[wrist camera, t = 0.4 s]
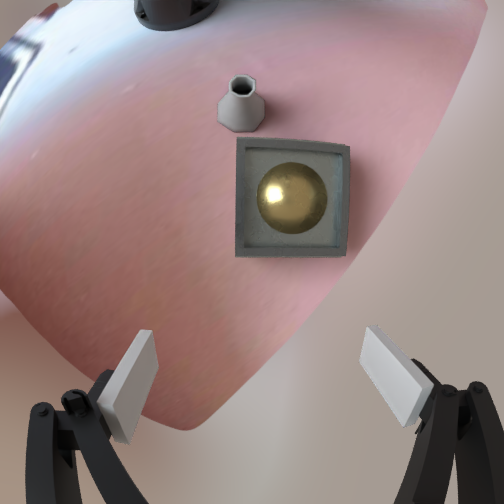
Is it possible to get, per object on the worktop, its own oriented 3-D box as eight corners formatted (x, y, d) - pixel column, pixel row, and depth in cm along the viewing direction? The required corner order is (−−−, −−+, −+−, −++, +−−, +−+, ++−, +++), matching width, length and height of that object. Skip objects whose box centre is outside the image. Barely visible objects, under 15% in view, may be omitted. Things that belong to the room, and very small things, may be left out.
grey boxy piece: (236, 145, 37) (236, 134, 30) (330, 150, 38) (349, 142, 30) (235, 248, 40) (235, 260, 33) (327, 248, 41) (345, 259, 33)
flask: (271, 97, 36) (282, 70, 26) (257, 139, 37) (264, 121, 27) (225, 84, 35) (222, 54, 25) (209, 126, 36) (201, 104, 26)
